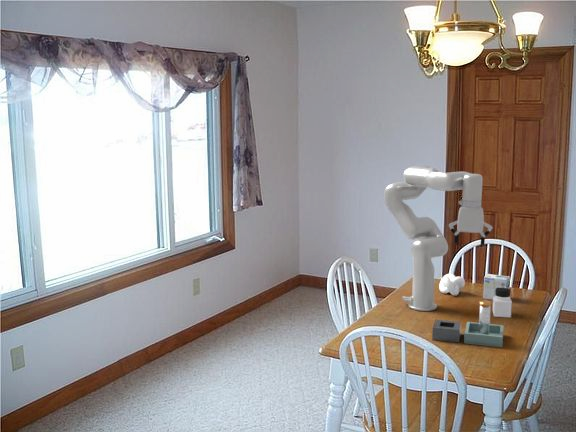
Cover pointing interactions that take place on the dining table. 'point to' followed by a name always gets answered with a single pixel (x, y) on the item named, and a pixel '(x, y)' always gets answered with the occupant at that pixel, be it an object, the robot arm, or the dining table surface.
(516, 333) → the dining table surface
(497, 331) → the tray
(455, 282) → the white irregular lump
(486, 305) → the pin
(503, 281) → the light bulb box
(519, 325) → the dining table surface
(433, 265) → the robot arm
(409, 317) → the dining table surface
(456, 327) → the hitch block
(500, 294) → the medicine bottle
